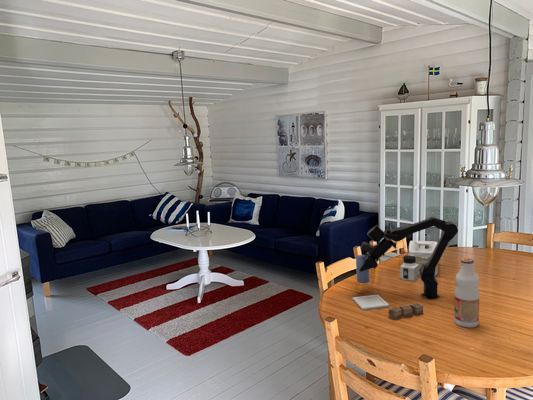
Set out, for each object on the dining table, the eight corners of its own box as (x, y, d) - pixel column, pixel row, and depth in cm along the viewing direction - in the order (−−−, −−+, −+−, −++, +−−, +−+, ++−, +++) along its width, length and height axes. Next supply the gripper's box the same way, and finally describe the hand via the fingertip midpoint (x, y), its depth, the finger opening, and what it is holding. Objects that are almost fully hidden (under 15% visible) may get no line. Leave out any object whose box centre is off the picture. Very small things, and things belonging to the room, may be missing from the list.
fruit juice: (470, 330, 166) (471, 264, 162) (449, 322, 174) (450, 259, 170) (483, 323, 171) (484, 259, 167) (462, 316, 179) (463, 254, 175)
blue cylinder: (372, 281, 208) (371, 257, 206) (361, 284, 206) (360, 259, 204) (364, 278, 214) (364, 254, 212) (354, 280, 212) (353, 256, 210)
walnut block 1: (401, 317, 182) (401, 309, 181) (396, 320, 179) (396, 311, 179) (394, 314, 185) (394, 306, 184) (388, 317, 182) (388, 309, 182)
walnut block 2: (412, 316, 182) (412, 308, 181) (404, 317, 181) (404, 309, 180) (407, 313, 186) (407, 304, 185) (399, 314, 185) (399, 305, 184)
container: (414, 281, 224) (414, 258, 222) (400, 279, 228) (400, 256, 226) (418, 277, 230) (418, 254, 228) (405, 274, 234) (404, 253, 233)
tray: (377, 296, 206) (377, 294, 206) (389, 307, 193) (389, 304, 193) (352, 299, 204) (352, 297, 204) (362, 310, 191) (362, 308, 191)
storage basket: (438, 277, 227) (438, 252, 225) (408, 275, 233) (408, 250, 231) (437, 264, 249) (437, 241, 247) (409, 262, 255) (409, 240, 253)
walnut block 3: (423, 314, 184) (423, 305, 183) (416, 316, 182) (416, 307, 182) (416, 310, 187) (416, 302, 187) (409, 312, 186) (409, 304, 185)
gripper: (369, 232, 214) (349, 252, 219) (369, 241, 196) (347, 263, 201) (385, 247, 214) (364, 267, 218) (387, 257, 196) (364, 279, 200)
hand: (360, 268), depth 209 cm, fingers closed on blue cylinder, 6 cm apart
